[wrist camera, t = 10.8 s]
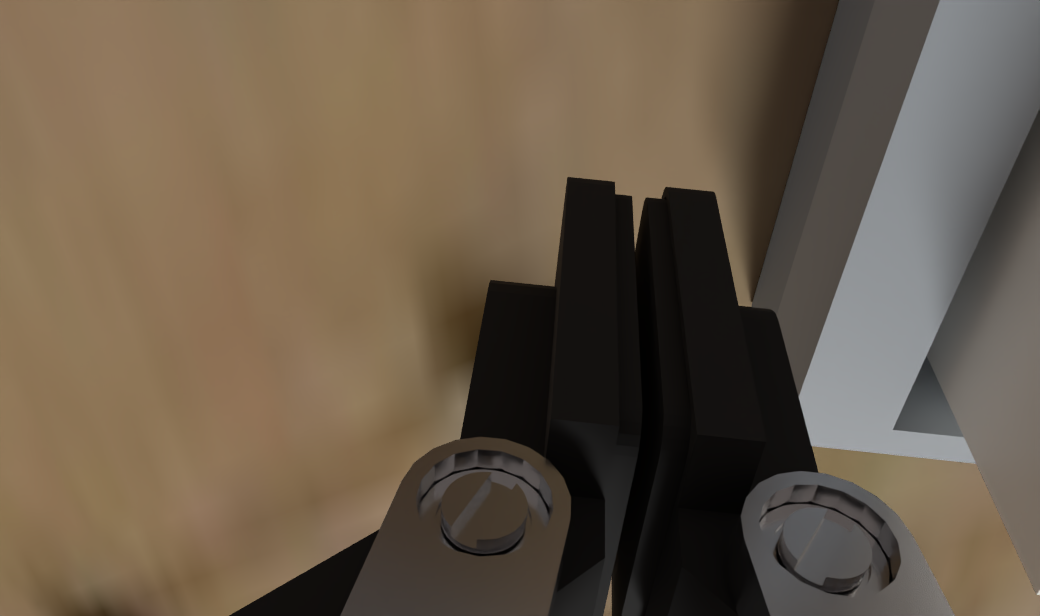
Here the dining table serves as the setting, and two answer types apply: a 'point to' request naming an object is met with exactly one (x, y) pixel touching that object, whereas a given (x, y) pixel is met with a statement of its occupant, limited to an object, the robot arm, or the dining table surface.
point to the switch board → (895, 209)
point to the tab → (1002, 355)
